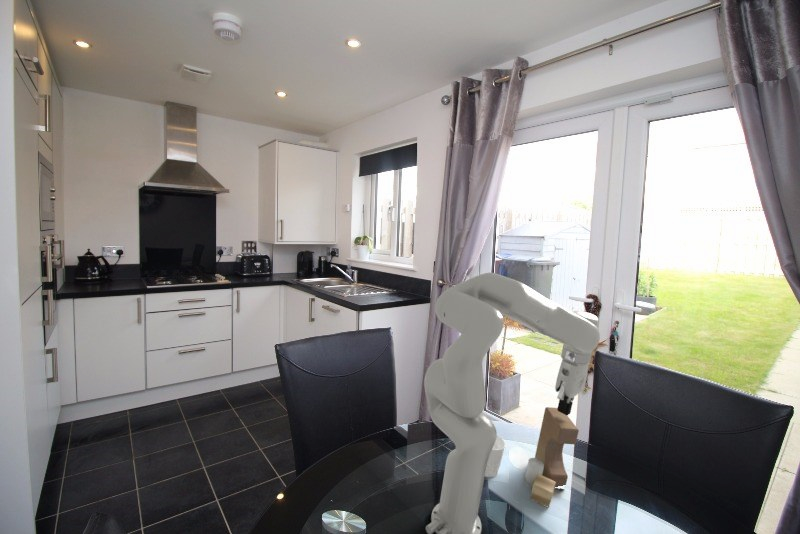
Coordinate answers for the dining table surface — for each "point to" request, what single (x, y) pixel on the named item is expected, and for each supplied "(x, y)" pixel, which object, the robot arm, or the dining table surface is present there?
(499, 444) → the white cup
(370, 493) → the dining table surface
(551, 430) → the decorative block
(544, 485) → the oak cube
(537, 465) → the grey tub
